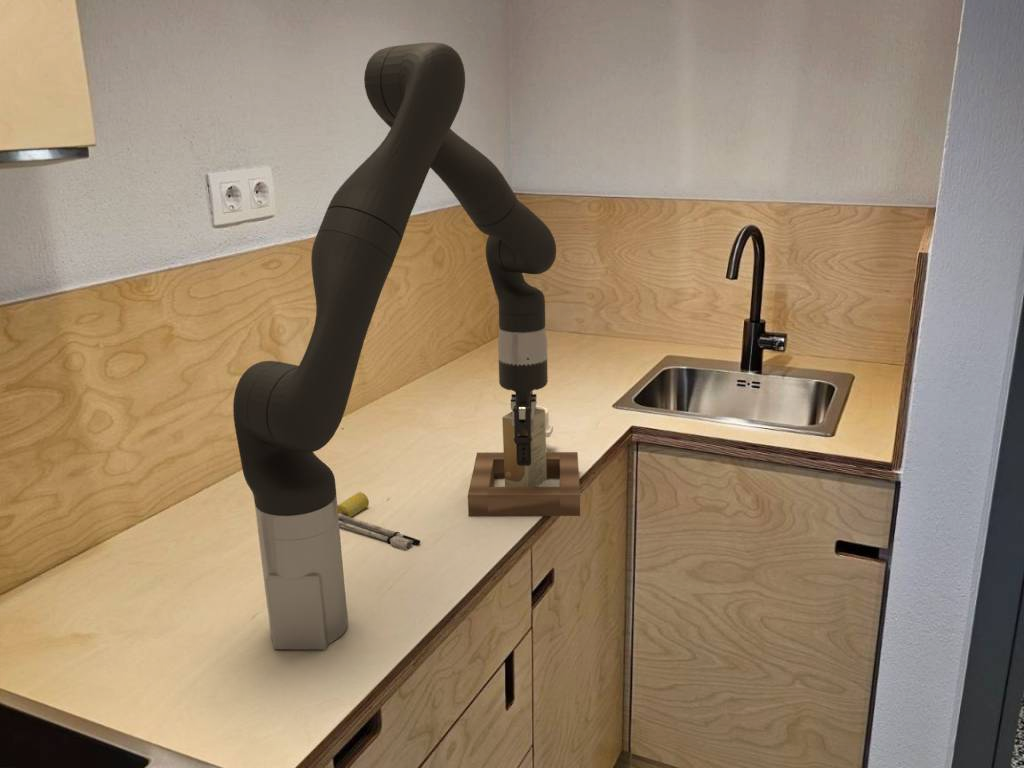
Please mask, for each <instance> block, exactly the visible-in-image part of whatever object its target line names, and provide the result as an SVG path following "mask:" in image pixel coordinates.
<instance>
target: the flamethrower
mask: <svg viewBox="0 0 1024 768" xmlns="http://www.w3.org/2000/svg"><path fill="white" fill-rule="evenodd" d="M369 503H370V501H369V498H368V496H367V495H366V494H365V493H364V492H362V491H358V492H357V493H354V495H352V496H350V497H349V498H347V499H345V500H344V501H342V502H341V503H339V504H337V506H338V517H339V518H338V519H339V527H343V528H345V529H346V528H347V529H348V530H352V531H355V532H357V533H361V534H364V535H366V536H370V537H373V538H375V539H376V538H377V539H379V540H382V541H385V542H386V543H387V544H389V545H391V546H392V547H393V548H397V549H398V550H403V551H404V552H405V551H407V550H408V548H412V547H413V544H415V545H420V544H421V540H420V539H417V538H415V537H412V536H411V537H410V536H408V535H405V534H403V533H401V532H399V531H393V530H390V529H388V528H385V527H382V526H378V525H375V524H372V523H369V522H365V521H362V520H360V519H356V518H354V516H356V515H357V514H359V513H360V512H361V511H363V510H365V509H366V508H367V507H369ZM407 547H408V548H407Z"/></svg>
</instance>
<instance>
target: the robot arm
mask: <svg viewBox="0 0 1024 768" xmlns="http://www.w3.org/2000/svg"><path fill="white" fill-rule="evenodd" d="M368 59H369V60H368V61H367V64H366V66H365V70H364V76H363V77H364V79H363V81H364V82H363V83H364V89H365V93H366V97H367V100H368V102H369V103H370V105H371V108H372V109H373V110H374V111H375V113H376V114H377V115H378V116H379V117H380V118H381V120H382V121H383V122H384V123H385V124H386V125H387V126H388V128H390V130H389V131H388V132H387V135H386V136H385V138H384V139H383V141H381V143H380V144H379V145H378V147H377V148H376V149H375V150H374V151H373V152H372V153H371V154H370V155H369V157H367V158H366V159H365V160H364V161H363V163H361V164H360V165H359V166H358V168H356V169H355V170H354V172H352V173H351V174H350V176H349V177H348V178H346V180H345V181H344V182H343V183H342V185H341V186H339V188H338V189H337V191H335V193H334V194H333V196H332V197H331V200H330V202H329V205H328V207H327V209H326V211H325V214H324V216H323V219H322V221H321V223H320V226H319V228H318V231H317V234H316V235H315V239H314V241H313V244H312V249H311V257H310V258H311V275H312V282H313V289H314V297H315V306H316V310H315V311H316V314H315V320H314V321H315V322H314V325H313V330H312V332H311V336H310V339H309V342H308V345H307V347H306V349H305V352H304V355H303V357H302V358H301V359H302V360H301V361H300V363H299V365H297V364H292V363H288V362H287V363H286V362H283V361H275V360H264V361H259V362H257V363H254V364H253V365H251V366H249V367H248V368H247V369H246V370H245V371H244V372H243V374H242V375H241V377H240V378H239V380H238V383H237V385H236V388H235V391H234V397H233V404H232V405H233V407H232V408H233V410H232V411H233V413H232V414H233V423H234V428H235V430H234V431H235V435H236V442H237V447H238V451H239V457H240V462H241V469H242V472H243V473H242V474H243V477H244V480H245V483H246V484H247V486H248V488H249V489H250V491H251V492H252V495H253V499H254V500H253V501H254V507H255V518H256V525H257V526H256V527H257V533H258V542H259V549H260V550H259V551H260V557H261V558H260V559H261V567H262V576H263V582H264V591H265V592H264V593H265V598H266V607H267V615H268V623H269V624H268V625H269V631H270V633H269V634H270V637H271V639H272V645H273V649H274V650H326V649H327V648H328V646H329V644H331V643H332V642H333V641H335V640H337V639H338V638H340V637H341V636H342V635H343V634H344V633H345V632H346V630H347V628H348V626H349V617H348V608H347V606H348V605H347V596H346V595H347V594H346V585H345V576H344V574H345V573H344V565H343V564H344V563H343V554H342V553H343V551H342V544H341V543H342V542H341V530H340V526H339V521H340V520H339V519H338V518H339V517H338V497H337V487H336V479H335V478H336V477H335V474H334V472H333V470H332V469H331V468H330V467H329V466H328V465H327V464H326V463H325V462H323V461H322V460H321V459H320V458H319V457H318V456H317V455H316V454H315V453H314V452H318V451H319V450H321V449H323V448H324V447H325V446H326V445H327V444H328V443H329V442H330V441H331V440H332V438H334V436H335V434H336V432H337V430H338V428H339V427H340V424H341V422H342V419H343V417H344V414H345V411H346V408H347V406H348V402H349V398H350V394H351V390H352V387H353V383H354V379H355V376H356V372H357V368H358V364H359V360H360V357H361V353H362V349H363V346H364V343H365V339H366V337H367V334H368V330H369V327H370V325H371V322H372V319H373V316H374V313H375V310H376V307H377V305H378V302H379V299H380V295H381V294H382V291H383V288H384V286H385V283H386V281H387V279H388V277H389V274H390V272H391V269H392V267H393V264H394V261H395V259H396V257H397V254H398V251H399V248H400V246H401V243H402V240H403V237H404V235H405V232H406V228H407V225H408V223H409V220H410V217H411V215H412V212H413V210H414V208H415V205H416V203H417V200H418V197H419V195H420V193H421V191H422V188H423V185H424V183H425V181H426V178H427V175H428V174H429V172H430V169H431V170H432V171H433V172H434V173H435V175H437V176H438V178H439V179H441V181H442V182H443V183H444V184H445V185H446V187H447V188H448V189H449V190H450V192H451V193H452V195H454V197H455V198H456V200H457V201H458V202H459V204H460V205H461V207H462V209H463V210H464V211H465V213H466V214H467V215H468V217H469V218H470V220H471V221H472V222H473V224H474V225H475V227H476V228H477V229H478V230H479V231H480V232H481V233H482V234H483V235H486V236H487V239H486V244H485V259H486V264H487V268H488V271H489V274H490V277H491V281H492V284H493V285H492V286H493V288H494V292H495V295H496V299H497V303H498V331H499V332H498V338H497V346H498V347H497V349H498V350H497V351H498V356H497V357H498V383H499V386H500V387H501V388H503V389H505V390H507V391H513V392H514V393H511V396H510V397H511V399H510V410H511V412H512V426H513V428H514V430H515V438H514V441H515V444H516V451H517V465H519V466H529V465H530V464H531V441H532V438H531V430H532V429H533V428H534V427H535V410H536V406H537V393H533V391H538V390H540V389H543V388H545V387H546V386H547V384H548V381H549V380H548V375H549V374H548V338H547V331H546V300H545V299H546V298H545V294H544V293H543V291H541V290H540V289H539V288H537V287H534V286H532V285H530V284H529V283H527V282H526V280H525V278H524V275H523V274H526V275H527V274H528V275H540V274H543V273H546V272H547V271H548V270H549V269H550V268H552V266H553V264H554V262H555V261H556V256H557V245H556V240H555V238H554V235H553V233H552V232H551V230H550V228H549V227H548V226H547V225H546V223H544V222H543V220H542V219H540V217H538V215H536V213H534V212H533V211H532V210H531V209H529V207H527V206H526V205H525V204H524V203H522V202H521V200H519V199H518V198H517V196H516V194H515V192H514V190H513V189H512V188H511V185H510V184H509V183H508V181H507V180H506V178H505V176H504V174H503V173H502V172H501V171H500V169H499V168H498V167H497V165H495V163H493V161H491V159H489V158H488V157H487V156H486V155H484V154H483V153H482V152H480V151H479V150H478V149H476V147H474V146H473V145H471V143H469V142H468V141H466V140H465V139H463V137H461V136H460V135H458V134H457V133H456V132H455V131H454V130H452V129H451V127H452V125H453V124H454V121H455V119H456V117H457V115H458V112H459V110H460V108H461V105H462V102H463V98H464V94H465V89H466V72H465V66H464V63H463V60H462V58H461V55H460V54H459V53H458V52H457V50H455V49H454V48H453V47H452V46H450V45H448V44H445V43H442V42H419V43H410V44H409V43H408V44H401V45H394V46H393V45H392V46H388V47H385V48H381V49H379V50H377V51H375V52H374V53H373V54H372V55H371V56H370V58H368ZM519 429H526V430H527V431H528V435H519Z"/></svg>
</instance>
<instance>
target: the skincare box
mask: <svg viewBox="0 0 1024 768" xmlns="http://www.w3.org/2000/svg"><path fill="white" fill-rule="evenodd" d="M501 420H502V440H503V441H502V442H503V444H502V445H503V452H504V475H505V479H504V487H539V485H541V484H542V483H544V482H545V481H546V480H548V479H547V469H546V452H547V448H546V447H547V444H546V443H547V439H546V438H547V437H546V428H545V410H542V409H537V408H536V410H535V427H534V428H533V429H532V430H531V438H532V441H531V464H530V465H529V466H519V465H517V451H516V444H515V441H514V438H515V430H514V428H513V426H512V411H510V412H509V413H507V414H505V415H504V416H502V419H501ZM519 435H528V431H527V430H526V429H519Z"/></svg>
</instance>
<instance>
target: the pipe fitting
mask: <svg viewBox="0 0 1024 768" xmlns="http://www.w3.org/2000/svg"><path fill="white" fill-rule="evenodd" d="M536 408H537V409H542V410H545V428H546V438H550V437H551V436H552V434H553V432H554V424H551V423H549V420H550V419H549V418H550V417H549V415H550V414H549V409H548V408H547V407H544V406H540V405H536Z"/></svg>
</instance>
